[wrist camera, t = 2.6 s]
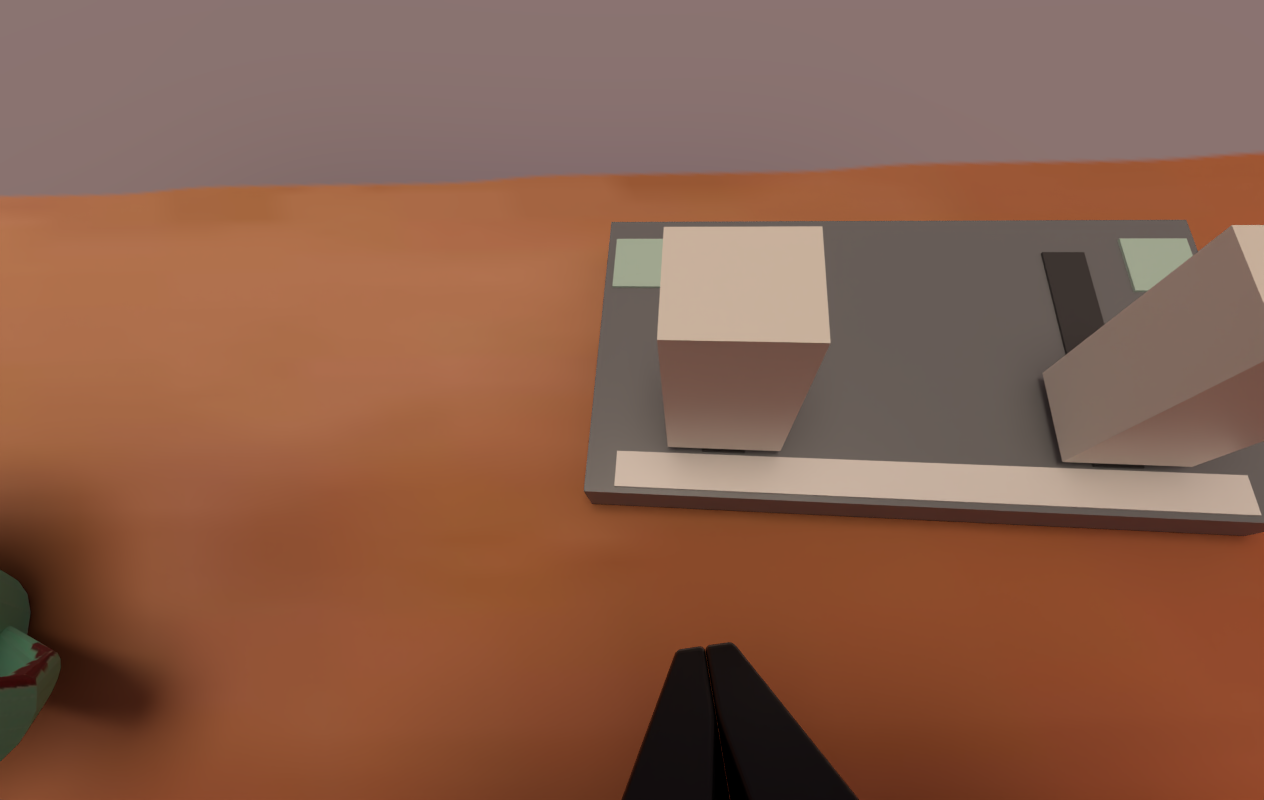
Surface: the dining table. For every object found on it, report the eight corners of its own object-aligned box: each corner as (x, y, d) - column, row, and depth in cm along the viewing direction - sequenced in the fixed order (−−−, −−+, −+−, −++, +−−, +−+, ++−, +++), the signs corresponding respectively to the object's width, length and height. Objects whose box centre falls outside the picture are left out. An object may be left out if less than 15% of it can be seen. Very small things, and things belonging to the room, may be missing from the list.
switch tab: (780, 450, 19) (830, 342, 12) (667, 446, 19) (656, 340, 12) (777, 367, 20) (822, 226, 13) (671, 364, 20) (663, 227, 14)
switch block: (1244, 535, 19) (1302, 523, 17) (592, 503, 21) (583, 490, 19) (1149, 251, 23) (1188, 218, 21) (616, 250, 25) (611, 220, 23)
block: (1192, 466, 17) (1500, 355, 11) (1062, 462, 18) (1283, 351, 11) (1163, 375, 19) (1426, 224, 12) (1042, 373, 19) (1231, 225, 12)
